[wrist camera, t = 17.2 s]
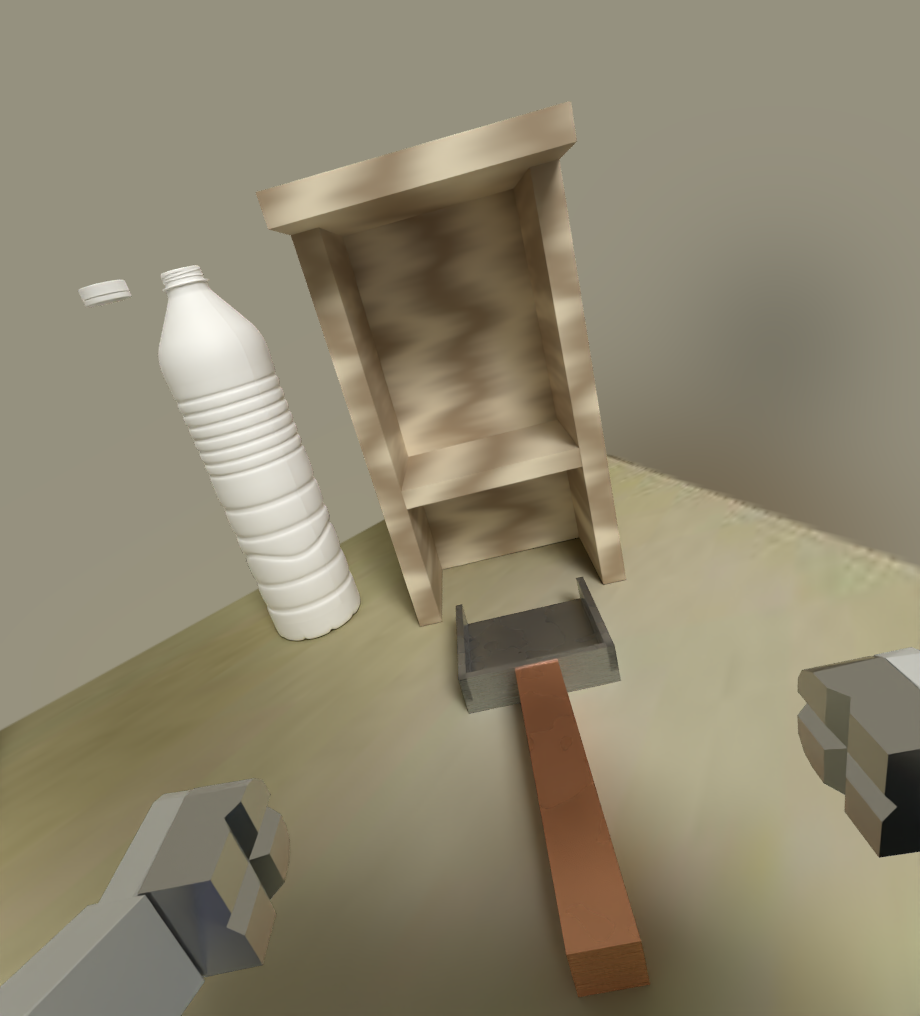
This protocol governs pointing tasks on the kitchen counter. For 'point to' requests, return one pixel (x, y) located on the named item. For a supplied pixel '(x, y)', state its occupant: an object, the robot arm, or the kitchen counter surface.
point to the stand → (461, 344)
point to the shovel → (561, 770)
